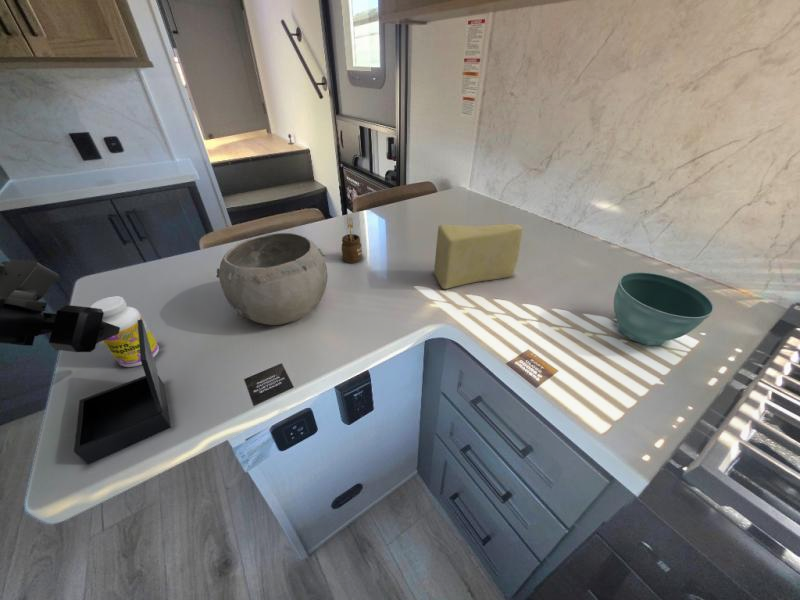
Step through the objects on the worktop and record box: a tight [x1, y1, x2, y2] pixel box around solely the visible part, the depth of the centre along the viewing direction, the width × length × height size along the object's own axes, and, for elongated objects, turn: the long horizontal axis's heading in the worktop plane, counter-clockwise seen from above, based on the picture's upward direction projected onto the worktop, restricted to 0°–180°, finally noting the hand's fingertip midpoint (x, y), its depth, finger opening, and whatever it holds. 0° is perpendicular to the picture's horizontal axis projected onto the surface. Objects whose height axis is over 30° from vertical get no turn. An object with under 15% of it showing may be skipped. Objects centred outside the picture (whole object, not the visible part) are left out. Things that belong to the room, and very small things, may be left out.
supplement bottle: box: [89, 295, 160, 368], centre depth 58 cm, size 7×7×13 cm
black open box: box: [73, 375, 171, 466], centre depth 50 cm, size 10×10×4 cm
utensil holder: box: [341, 216, 363, 264], centre depth 93 cm, size 6×6×12 cm
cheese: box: [433, 223, 523, 290], centre depth 84 cm, size 22×10×15 cm, turn 100°
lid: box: [138, 319, 163, 413], centre depth 48 cm, size 11×10×1 cm
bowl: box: [215, 232, 329, 326], centre depth 72 cm, size 23×23×15 cm
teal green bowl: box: [613, 271, 715, 346], centre depth 68 cm, size 16×16×11 cm
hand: (93, 327), depth 53 cm, fingers open, 9 cm apart
